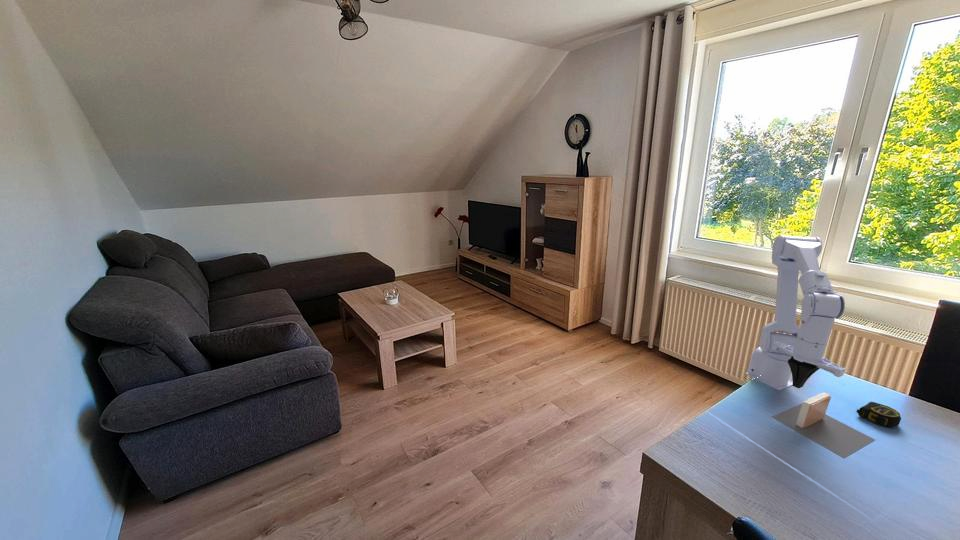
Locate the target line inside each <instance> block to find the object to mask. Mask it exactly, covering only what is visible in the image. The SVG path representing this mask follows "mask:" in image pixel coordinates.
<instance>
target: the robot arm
mask: <svg viewBox="0 0 960 540" xmlns="http://www.w3.org/2000/svg"><path fill="white" fill-rule="evenodd" d="M771 247H772V248H771V249H772V250H771V263H772V265H775V266H776V267H777V277H776V278H777V280H776V294H775V296H776V297H775V306H774V307H775V309H774V310H775V312H774V320H773V321H772V322H769V323H767V324H765V325H764V326H763V327H762V329H761V333H760V336H759V337H760V338H759V343H758V344H759V346H758V347H757V348H755V350H754V351H753V353H752V355H751V359H750V361H749V364H748V369H747V372H745V375H747V376H750V377H751V378H753V379H755V378H757V377H758V378H757V379H756V380H757V381H759V382H762V383H763V384H765V385H767V386H769V387H771V388H773V389H775V390H777V391H782V390H784V389H786V388H789V387H791V386H792V387H795V388H796V389H801V388H803V387H804V385H805V384H806V382H807V381H808V380H809V378H811V376H813V375H814V374H815V373H816V372H817V371H819V370H823V371H826V372H828V373H830V374H832V375H833V376H834V377H836V378H841V377H842V376H844V374H845V372H846V371H845V370H846V368H845V367H842V366H840V365H838V364H836V363H835V362H833V361H831V360H829V359H827V358H826V357H824V354H825V351H826V348H827V346H828V345H827V344H828V342H829V339H830V335H831V333H832V330H833V326H834V323H835V319H837V320H838V319H840V318H842V316H843V314H844V313H845V307H846V302H845V301H846V300H845V299H844V298H845V297H844V296H843V295H842V294H840V293H838V292H837V291H834V288H833V286H832V283H831V281H830V279H829V276H828V274H827V273H825V272H824V271H822V270H820V269H821V268H820V264H819V259H818V258H819V257H820V255H821V253H822V249H823V241H822V240H821V237H818V236H813V237H812V236H797V235H785V234H779V235H778V236H776V237H775V239H774V241H773V244H772V246H771ZM799 273H800V274H801V275H800V276H799ZM799 286H800V288H801V289H800V290H801V292H802V296H803V298H802V299H801V312H800V319H801V322H800V325H798V324H797V323H796V321H797V306H798V290H799V289H798V288H799ZM760 375H761V376H760ZM790 377H792V379H791V380H790Z"/></svg>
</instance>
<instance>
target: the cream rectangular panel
mask: <svg viewBox="0 0 960 540" xmlns="http://www.w3.org/2000/svg"><path fill="white" fill-rule="evenodd" d="M831 398H832V396H831V394H829V393H827V392H820V393H818V394H816V395H814V396H811V397H809V398H807V399H804V400H802V403H803V404H802V403H801V404H802V407H801V410H800V413H799V416H798V419H797V422H796V425H798V426H800V427H801V428H803V427H804V428H805V427H807V426H809V425H811V424H813V423H815V422H817V421H819V420H821V419H824V416H825V414H827V409H828V407H829V405H830V402H831Z"/></svg>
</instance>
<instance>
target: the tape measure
mask: <svg viewBox="0 0 960 540" xmlns="http://www.w3.org/2000/svg"><path fill="white" fill-rule="evenodd" d="M855 412H856V414H857V415H858V416H859V417H860V418H863V419H867V420H868V421H869V422H871V423H873V424H876V425H878V426H881V427H884V428H896V427H897V426H899V425H900V423H901V421H902V417H901V414H900V412H898V410H897V409H895V408H892V407H891V406H888V405H884V404H881V403H878V402H874V401H869V402H867V404H865V405H862V406H861V407H860V408H856V411H855Z"/></svg>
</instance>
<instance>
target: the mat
mask: <svg viewBox="0 0 960 540" xmlns="http://www.w3.org/2000/svg"><path fill="white" fill-rule="evenodd" d="M802 404H803V402H801V403H800V404H797V405H794V406H793V407H791V408H789V409H786V410H784V411H781V412H779V413H777V414H774V415H773V416H771V418H773V419H775V420H776V421H778V422H780V423H781V424H783V425H785V426H787V427H789V428H790V429H792V430H794V431H795V432H797V433H799V434H800V435H803V436H804V437H805V438H808V439H810V440H811V441H813V442H814V443H816V444H818V445H820V446H822V447H823V448H825V449H827V450H828V451H831V452H832V453H834V454H836V455H837V456H839V457H841V458H842V459H846V458H847V457H849V456H851V455H852V454H854V453H856V452H858V451H860V450H861V449H864V447H866V446H868V445H870V444H872V443H873V442H874V441H876V439H875V438H873V437H870V436H869V435H867V434H865V433H863V432H860V431H859V430H857V429H855V428H853V427H852V426H849V425H847V424H845V423H844V422H842V421H839V420H838V419H835V418H834V417H832V416H830V415H828V414H827V413H825V416H824V419H821V420H819V421H817V422H815V423H813V424H811V425H809V426H807V427H805V428H804V427H803V428H801V427H800V426H798V425H796V422H797V419H798V416H799V413H800V410H801V407H802Z"/></svg>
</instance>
